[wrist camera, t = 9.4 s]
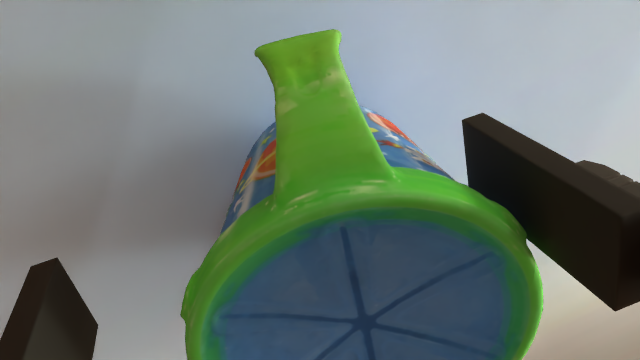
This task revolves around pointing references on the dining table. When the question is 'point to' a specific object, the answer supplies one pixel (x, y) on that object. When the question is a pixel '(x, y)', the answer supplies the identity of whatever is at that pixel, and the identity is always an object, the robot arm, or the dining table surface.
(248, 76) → the dining table surface
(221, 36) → the dining table surface
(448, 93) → the dining table surface
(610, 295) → the robot arm
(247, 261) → the snack cup
